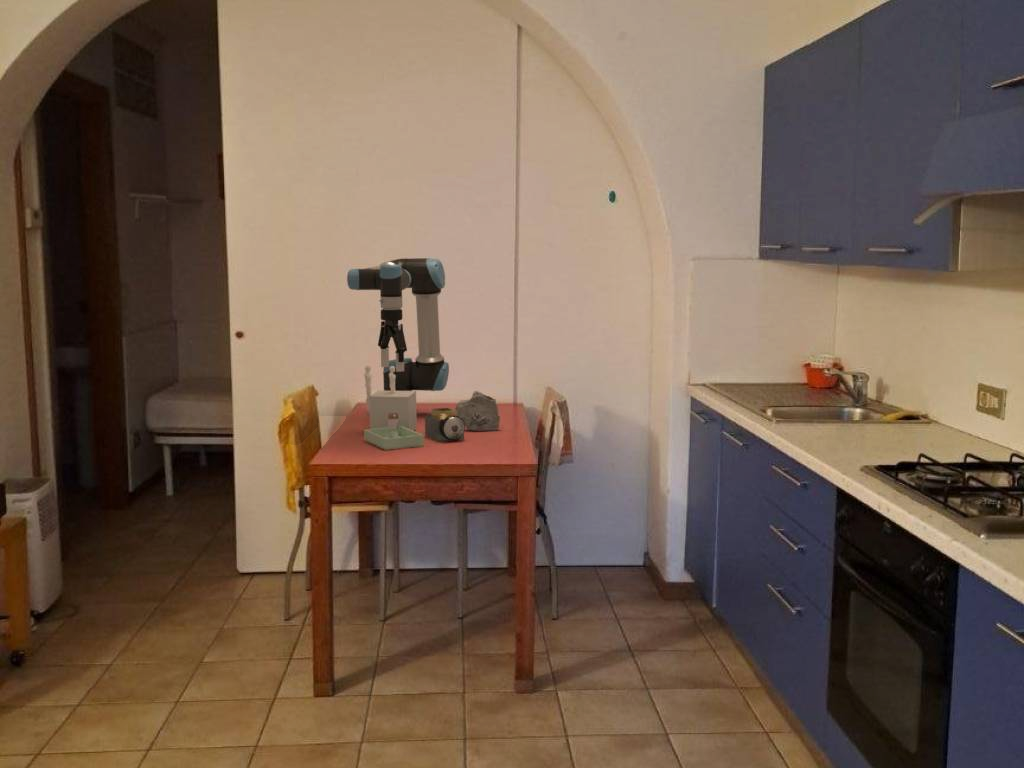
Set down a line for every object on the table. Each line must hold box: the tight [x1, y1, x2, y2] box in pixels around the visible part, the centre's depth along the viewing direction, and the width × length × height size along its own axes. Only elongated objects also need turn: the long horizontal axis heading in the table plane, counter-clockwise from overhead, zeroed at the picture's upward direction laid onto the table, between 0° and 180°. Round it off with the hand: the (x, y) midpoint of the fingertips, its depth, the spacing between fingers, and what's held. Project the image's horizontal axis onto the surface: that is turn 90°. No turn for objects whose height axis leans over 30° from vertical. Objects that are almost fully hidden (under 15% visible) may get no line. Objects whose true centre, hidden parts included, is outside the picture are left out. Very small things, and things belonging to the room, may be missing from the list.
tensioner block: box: [424, 407, 466, 443], centre depth 367 cm, size 15×10×10 cm, turn 29°
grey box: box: [363, 365, 418, 431], centre depth 379 cm, size 15×18×25 cm
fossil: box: [454, 390, 501, 432], centre depth 382 cm, size 17×7×15 cm, turn 93°
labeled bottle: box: [388, 413, 399, 438], centre depth 359 cm, size 4×4×10 cm
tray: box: [363, 426, 425, 451], centre depth 359 cm, size 20×15×4 cm
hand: (392, 369), depth 355 cm, fingers open, 13 cm apart
